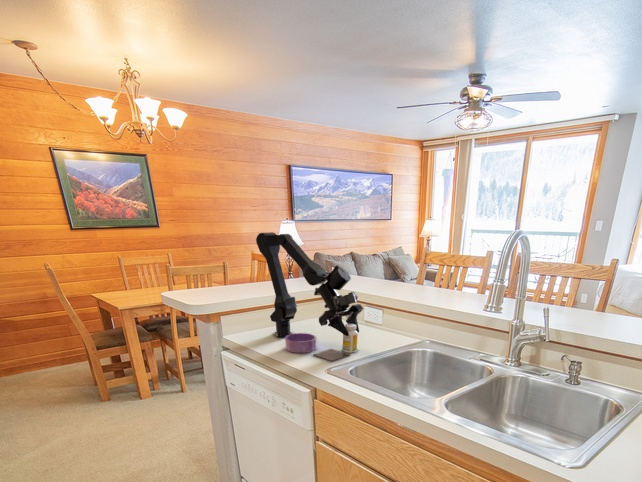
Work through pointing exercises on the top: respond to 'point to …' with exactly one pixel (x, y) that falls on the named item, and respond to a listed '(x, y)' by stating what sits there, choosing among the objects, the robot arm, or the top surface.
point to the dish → (300, 342)
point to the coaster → (331, 355)
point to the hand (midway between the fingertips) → (353, 334)
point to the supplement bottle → (350, 339)
